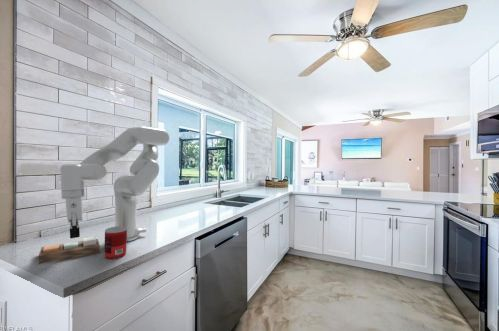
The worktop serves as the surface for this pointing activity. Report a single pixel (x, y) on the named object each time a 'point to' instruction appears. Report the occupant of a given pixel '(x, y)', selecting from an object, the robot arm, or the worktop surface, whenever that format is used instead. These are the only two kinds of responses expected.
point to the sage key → (71, 245)
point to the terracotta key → (51, 248)
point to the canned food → (115, 242)
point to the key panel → (68, 252)
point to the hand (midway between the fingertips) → (74, 237)
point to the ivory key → (89, 241)
